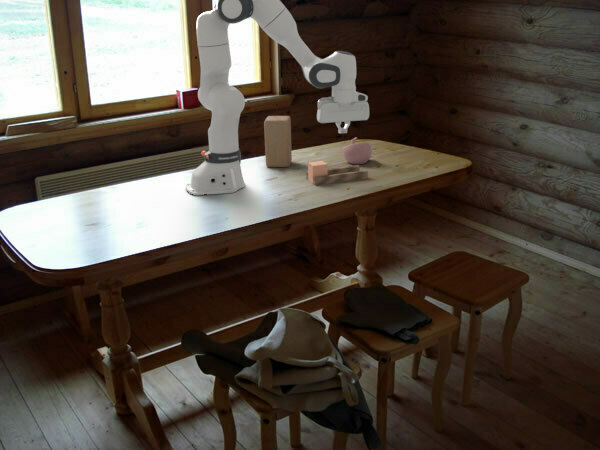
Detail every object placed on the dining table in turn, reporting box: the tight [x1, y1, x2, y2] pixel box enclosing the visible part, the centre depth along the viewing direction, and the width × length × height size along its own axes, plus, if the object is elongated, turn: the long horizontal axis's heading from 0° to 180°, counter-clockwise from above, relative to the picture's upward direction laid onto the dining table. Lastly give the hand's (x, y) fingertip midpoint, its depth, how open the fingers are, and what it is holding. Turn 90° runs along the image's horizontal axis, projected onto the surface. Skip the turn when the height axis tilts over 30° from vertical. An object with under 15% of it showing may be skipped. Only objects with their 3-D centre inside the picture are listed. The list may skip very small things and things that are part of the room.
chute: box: [305, 164, 369, 186], centre depth 250 cm, size 22×9×4 cm, turn 110°
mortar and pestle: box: [342, 136, 373, 165], centre depth 270 cm, size 12×12×12 cm
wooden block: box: [263, 115, 293, 168], centre depth 271 cm, size 10×10×20 cm
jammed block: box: [307, 160, 328, 184], centre depth 247 cm, size 6×5×7 cm
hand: (342, 133), depth 245 cm, fingers closed
